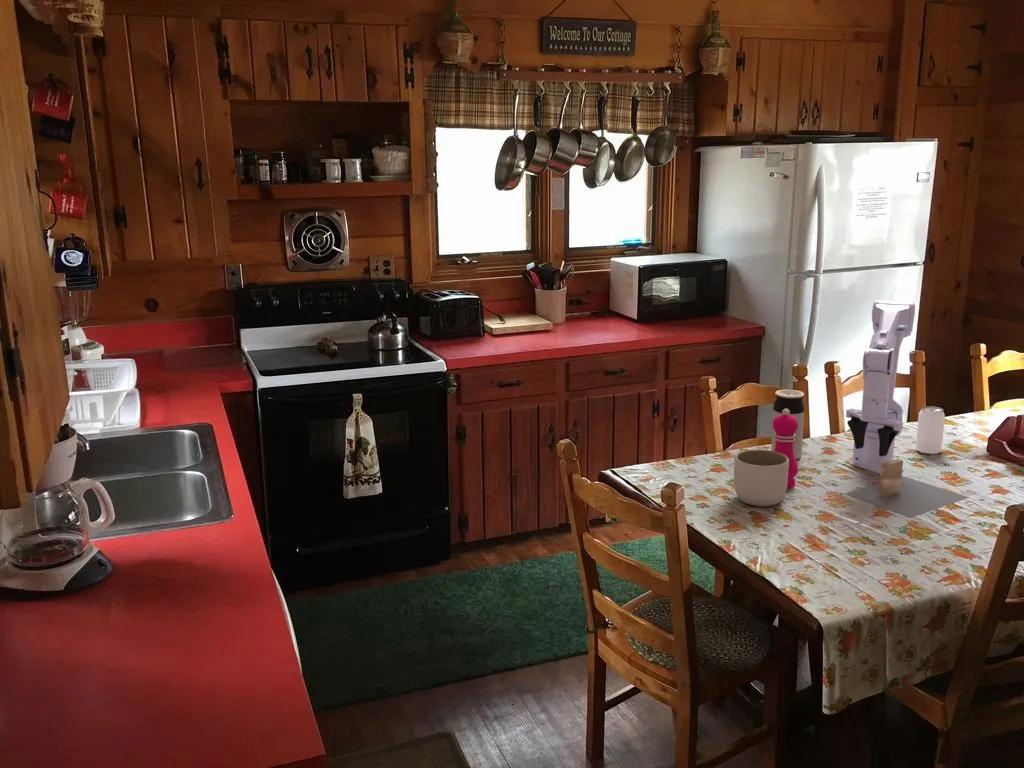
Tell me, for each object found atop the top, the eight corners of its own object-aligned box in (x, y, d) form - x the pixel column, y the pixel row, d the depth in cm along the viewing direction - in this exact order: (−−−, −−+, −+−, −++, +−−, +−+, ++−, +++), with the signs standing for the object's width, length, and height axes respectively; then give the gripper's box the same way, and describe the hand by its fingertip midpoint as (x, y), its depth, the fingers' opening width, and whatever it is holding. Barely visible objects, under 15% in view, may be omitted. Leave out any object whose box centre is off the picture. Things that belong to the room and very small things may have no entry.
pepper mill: (781, 492, 217) (785, 414, 212) (760, 483, 223) (764, 407, 218) (803, 487, 220) (808, 410, 215) (782, 478, 226) (786, 403, 221)
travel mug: (776, 449, 248) (780, 387, 244) (805, 454, 244) (809, 391, 239) (766, 457, 242) (769, 394, 237) (795, 462, 237) (799, 398, 233)
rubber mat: (843, 495, 214) (843, 493, 214) (901, 477, 225) (901, 475, 225) (910, 519, 199) (910, 517, 199) (968, 499, 210) (968, 497, 210)
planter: (771, 514, 203) (773, 470, 201) (723, 502, 212) (724, 458, 209) (795, 499, 212) (798, 456, 210) (748, 487, 220) (750, 445, 218)
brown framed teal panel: (877, 494, 213) (880, 463, 211) (894, 489, 215) (896, 458, 214) (884, 496, 211) (887, 465, 209) (900, 491, 214) (903, 460, 212)
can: (945, 454, 241) (949, 412, 238) (921, 454, 241) (925, 412, 238) (934, 447, 247) (938, 405, 244) (911, 447, 247) (915, 406, 244)
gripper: (839, 394, 217) (835, 446, 220) (891, 407, 205) (886, 462, 208) (858, 390, 220) (854, 441, 224) (910, 402, 208) (905, 457, 211)
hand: (871, 451), depth 216 cm, fingers open, 6 cm apart
